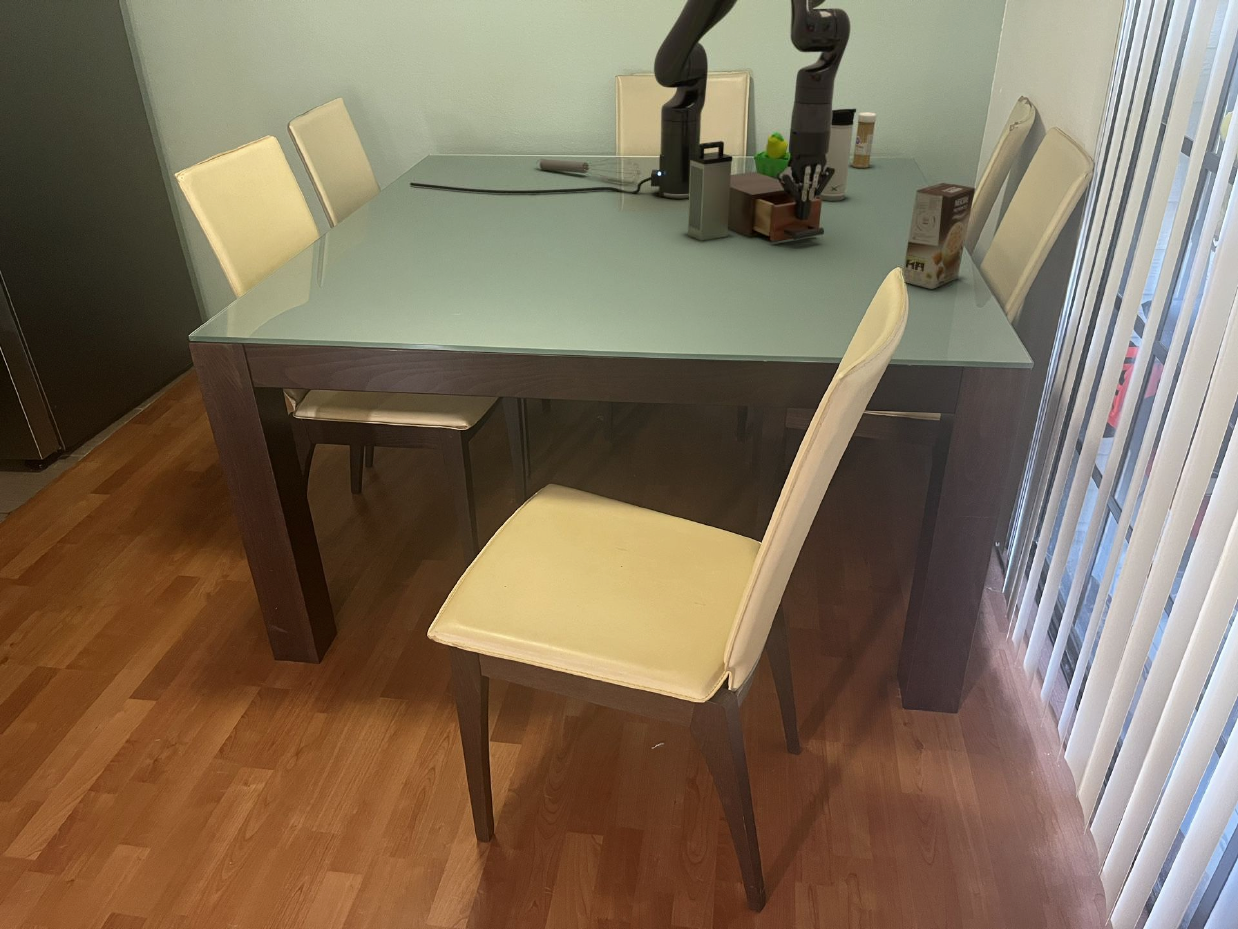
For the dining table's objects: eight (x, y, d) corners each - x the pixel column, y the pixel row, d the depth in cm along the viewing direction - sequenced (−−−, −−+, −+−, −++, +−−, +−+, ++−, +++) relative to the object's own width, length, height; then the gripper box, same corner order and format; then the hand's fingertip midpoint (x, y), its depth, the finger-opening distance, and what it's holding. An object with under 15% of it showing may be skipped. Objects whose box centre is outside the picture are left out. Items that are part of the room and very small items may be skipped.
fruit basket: (803, 176, 231) (808, 129, 226) (790, 182, 225) (794, 135, 219) (763, 170, 237) (766, 125, 231) (748, 177, 230) (751, 131, 225)
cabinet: (797, 228, 190) (801, 187, 185) (749, 237, 184) (752, 194, 180) (751, 210, 202) (754, 171, 198) (704, 218, 197) (706, 178, 193)
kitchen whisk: (543, 166, 242) (542, 142, 239) (646, 184, 225) (646, 158, 222) (528, 170, 238) (527, 145, 235) (631, 189, 221) (632, 162, 218)
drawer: (831, 238, 180) (835, 204, 177) (786, 246, 176) (789, 211, 172) (772, 215, 195) (774, 183, 192) (728, 222, 190) (730, 190, 187)
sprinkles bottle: (848, 166, 241) (854, 113, 234) (859, 163, 243) (866, 111, 237) (861, 169, 238) (868, 115, 231) (873, 166, 240) (880, 113, 234)
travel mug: (838, 202, 208) (849, 111, 198) (812, 198, 211) (822, 108, 201) (850, 197, 212) (861, 107, 202) (824, 193, 216) (834, 104, 205)
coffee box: (933, 290, 156) (950, 196, 148) (900, 281, 160) (914, 190, 152) (958, 278, 162) (976, 187, 154) (926, 270, 166) (941, 181, 158)
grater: (728, 236, 185) (733, 142, 176) (700, 241, 182) (704, 146, 173) (713, 230, 189) (718, 138, 180) (686, 234, 186) (690, 141, 177)
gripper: (825, 120, 175) (815, 210, 184) (770, 127, 169) (763, 218, 178) (851, 126, 169) (840, 218, 178) (795, 133, 164) (786, 228, 173)
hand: (801, 218), depth 178 cm, fingers closed
